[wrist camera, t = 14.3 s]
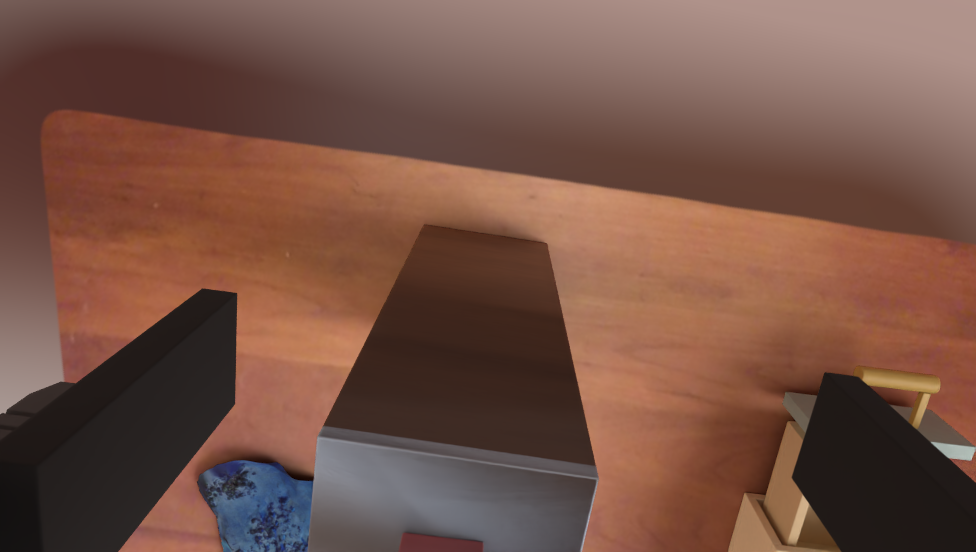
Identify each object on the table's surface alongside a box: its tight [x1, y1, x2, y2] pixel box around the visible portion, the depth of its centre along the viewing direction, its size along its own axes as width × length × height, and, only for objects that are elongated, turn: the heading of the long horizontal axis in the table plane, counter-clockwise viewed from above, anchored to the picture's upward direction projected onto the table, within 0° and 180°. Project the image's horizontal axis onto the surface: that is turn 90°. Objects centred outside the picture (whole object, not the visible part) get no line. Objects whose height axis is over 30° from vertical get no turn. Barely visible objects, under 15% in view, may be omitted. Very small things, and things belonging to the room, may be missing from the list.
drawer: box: [762, 366, 976, 552], centre depth 56 cm, size 19×12×6 cm, turn 173°
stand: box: [308, 225, 599, 552], centre depth 40 cm, size 10×10×32 cm
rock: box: [197, 460, 314, 552], centre depth 62 cm, size 15×17×2 cm
